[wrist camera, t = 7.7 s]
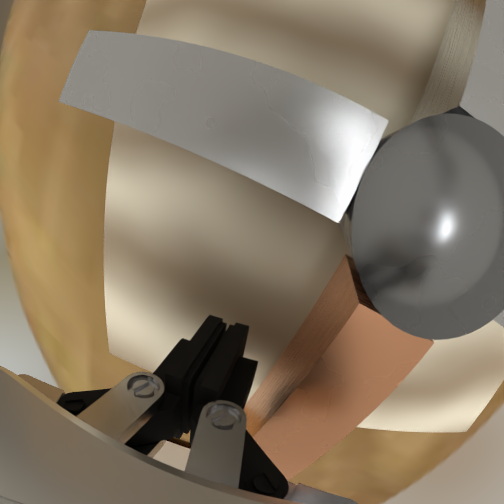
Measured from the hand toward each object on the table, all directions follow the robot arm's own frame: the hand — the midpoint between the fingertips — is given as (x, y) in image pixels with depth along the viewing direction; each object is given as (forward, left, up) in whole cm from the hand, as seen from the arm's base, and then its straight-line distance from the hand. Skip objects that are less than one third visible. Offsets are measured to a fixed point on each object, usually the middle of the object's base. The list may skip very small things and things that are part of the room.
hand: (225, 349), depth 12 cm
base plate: (-7, +4, -3) cm, 9 cm away
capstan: (-7, +5, -2) cm, 9 cm away
